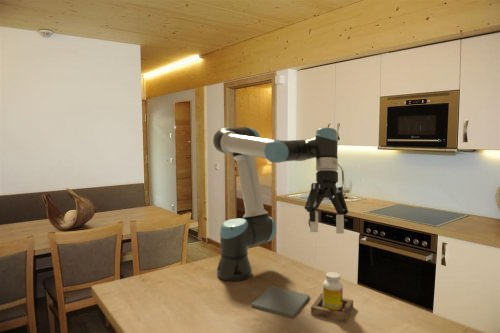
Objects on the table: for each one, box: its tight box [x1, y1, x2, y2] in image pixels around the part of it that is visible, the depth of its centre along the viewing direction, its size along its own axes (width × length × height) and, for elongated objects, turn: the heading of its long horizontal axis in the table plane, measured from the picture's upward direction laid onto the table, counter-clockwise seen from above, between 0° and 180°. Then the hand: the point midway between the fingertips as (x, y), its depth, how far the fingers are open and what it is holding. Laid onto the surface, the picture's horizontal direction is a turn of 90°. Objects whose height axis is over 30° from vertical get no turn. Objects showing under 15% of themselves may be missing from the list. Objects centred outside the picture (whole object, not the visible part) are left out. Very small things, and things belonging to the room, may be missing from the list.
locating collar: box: [310, 292, 354, 324], centre depth 122 cm, size 12×12×2 cm
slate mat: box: [250, 285, 311, 319], centre depth 128 cm, size 16×16×1 cm
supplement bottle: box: [322, 271, 344, 312], centre depth 121 cm, size 7×7×13 cm
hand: (327, 232), depth 119 cm, fingers open, 13 cm apart
